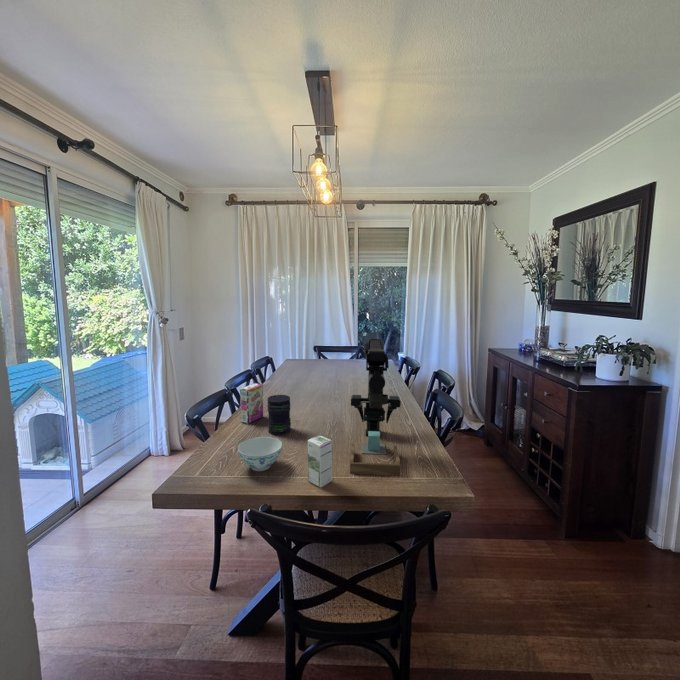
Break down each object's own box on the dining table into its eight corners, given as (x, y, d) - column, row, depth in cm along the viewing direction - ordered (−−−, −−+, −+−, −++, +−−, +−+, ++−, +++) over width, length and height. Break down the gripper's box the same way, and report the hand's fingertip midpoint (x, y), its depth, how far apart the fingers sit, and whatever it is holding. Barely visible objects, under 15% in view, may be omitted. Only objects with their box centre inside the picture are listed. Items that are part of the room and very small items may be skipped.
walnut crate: (351, 452, 135) (351, 444, 135) (396, 454, 134) (396, 445, 133) (349, 473, 120) (350, 463, 120) (400, 475, 119) (400, 465, 119)
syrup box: (332, 481, 115) (332, 439, 113) (319, 488, 111) (319, 445, 109) (320, 474, 119) (320, 434, 117) (307, 482, 115) (306, 439, 113)
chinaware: (232, 463, 126) (232, 443, 125) (271, 452, 135) (271, 433, 134) (248, 482, 114) (247, 460, 113) (289, 469, 123) (289, 448, 122)
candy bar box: (248, 424, 162) (247, 389, 160) (240, 422, 164) (239, 388, 162) (264, 416, 172) (263, 384, 170) (256, 414, 174) (255, 382, 172)
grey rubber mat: (362, 443, 143) (362, 442, 143) (384, 444, 143) (384, 443, 142) (362, 453, 134) (362, 453, 134) (385, 454, 134) (385, 454, 134)
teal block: (367, 445, 141) (368, 431, 140) (379, 445, 140) (379, 431, 140) (367, 450, 136) (368, 435, 135) (379, 451, 136) (380, 436, 135)
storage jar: (295, 431, 155) (294, 398, 153) (276, 437, 148) (275, 403, 146) (282, 424, 162) (281, 393, 160) (263, 430, 155) (262, 397, 153)
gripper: (350, 388, 127) (349, 429, 130) (402, 389, 126) (401, 431, 128) (351, 380, 138) (351, 418, 140) (399, 381, 137) (398, 420, 139)
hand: (374, 422), depth 137 cm, fingers open, 9 cm apart
